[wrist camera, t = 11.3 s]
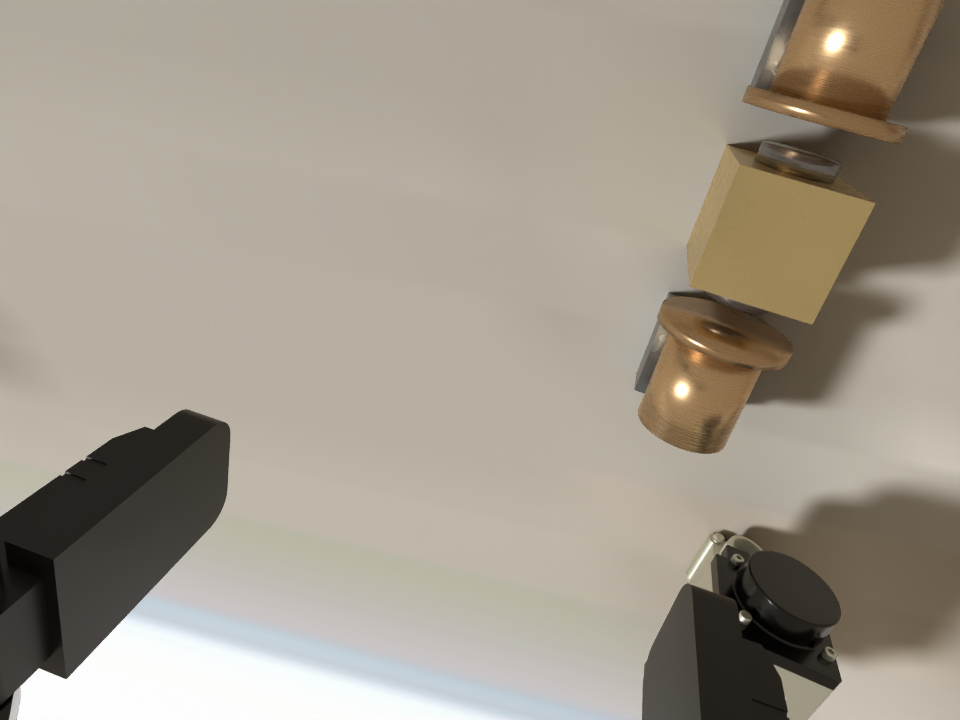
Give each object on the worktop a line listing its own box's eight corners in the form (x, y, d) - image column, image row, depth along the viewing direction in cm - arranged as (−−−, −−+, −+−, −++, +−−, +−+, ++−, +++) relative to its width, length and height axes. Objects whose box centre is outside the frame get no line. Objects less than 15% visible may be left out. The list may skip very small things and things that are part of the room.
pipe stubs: (627, 371, 36) (617, 435, 30) (788, -44, 27) (822, -77, 21) (734, 406, 36) (747, 480, 29) (937, -9, 26) (1020, -32, 20)
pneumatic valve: (812, 505, 37) (868, 683, 26) (717, 639, 42) (731, 832, 32) (717, 466, 37) (734, 625, 27) (635, 604, 43) (623, 781, 32)
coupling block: (733, 127, 30) (748, 142, 24) (842, 157, 30) (887, 181, 24) (680, 259, 33) (682, 303, 27) (779, 290, 33) (803, 342, 27)
